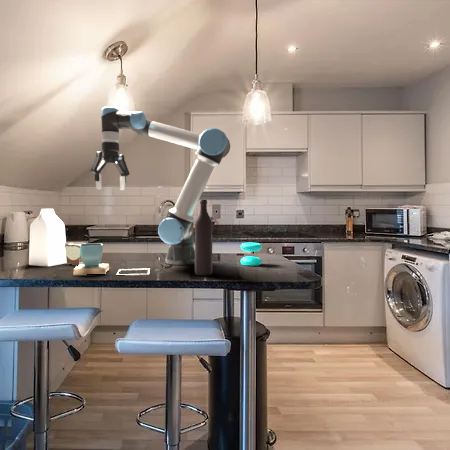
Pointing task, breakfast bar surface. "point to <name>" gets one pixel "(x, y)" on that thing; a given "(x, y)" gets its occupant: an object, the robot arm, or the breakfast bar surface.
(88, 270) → the bread slice
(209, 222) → the wine bottle
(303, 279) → the breakfast bar surface
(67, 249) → the food container
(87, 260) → the flower pot
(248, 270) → the breakfast bar surface
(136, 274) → the seat outline
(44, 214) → the milk
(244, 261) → the pair of cyan ovals
